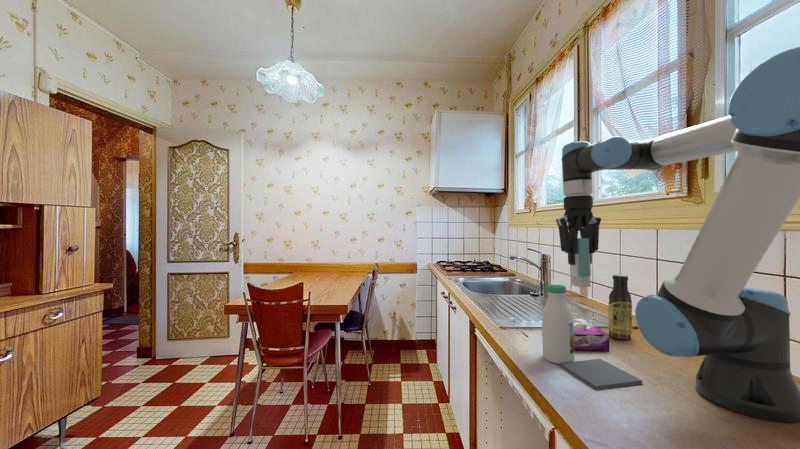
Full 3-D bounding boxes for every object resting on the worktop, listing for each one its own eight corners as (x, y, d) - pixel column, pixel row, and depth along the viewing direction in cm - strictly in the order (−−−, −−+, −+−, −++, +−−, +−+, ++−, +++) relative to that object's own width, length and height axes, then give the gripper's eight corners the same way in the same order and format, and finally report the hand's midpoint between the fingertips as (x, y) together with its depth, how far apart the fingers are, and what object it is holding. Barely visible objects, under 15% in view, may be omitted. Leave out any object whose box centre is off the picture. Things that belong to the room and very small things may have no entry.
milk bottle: (564, 368, 80) (562, 289, 80) (537, 358, 87) (535, 285, 87) (580, 360, 84) (578, 286, 85) (552, 351, 91) (551, 282, 91)
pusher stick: (590, 286, 91) (588, 238, 91) (581, 287, 90) (579, 238, 90) (580, 284, 95) (578, 238, 95) (571, 285, 94) (569, 238, 94)
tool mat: (642, 383, 72) (642, 380, 72) (596, 389, 69) (596, 386, 70) (600, 361, 83) (600, 358, 83) (559, 366, 81) (559, 363, 81)
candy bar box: (569, 333, 91) (548, 317, 107) (569, 351, 91) (548, 332, 107) (610, 333, 90) (582, 317, 106) (610, 351, 90) (583, 332, 106)
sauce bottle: (613, 340, 98) (611, 276, 99) (605, 333, 104) (603, 273, 105) (637, 341, 97) (635, 276, 97) (627, 334, 103) (625, 273, 103)
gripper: (591, 197, 98) (594, 272, 97) (545, 197, 95) (547, 275, 95) (611, 194, 90) (615, 276, 90) (561, 194, 88) (564, 279, 87)
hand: (580, 275), depth 92 cm, fingers closed on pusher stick, 3 cm apart
